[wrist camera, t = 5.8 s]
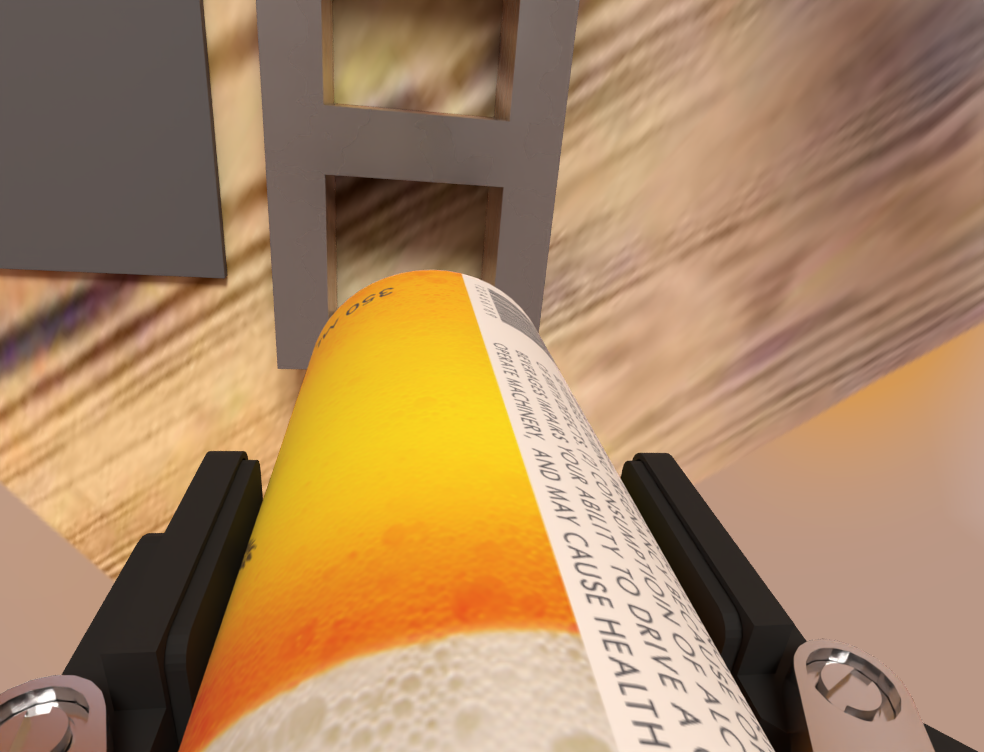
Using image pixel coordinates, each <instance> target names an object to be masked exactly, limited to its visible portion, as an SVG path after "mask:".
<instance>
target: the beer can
mask: <svg viewBox="0 0 984 752" xmlns="http://www.w3.org/2000/svg"><path fill="white" fill-rule="evenodd" d="M178 752H775V751H774V749H773V747H772V746H771V744H770V742H769V740H768V739H767V737H766V735H765V733H764V732H763V730H762V728H761V726H760V724H759V723H758V721H757V719H756V717H755V716H754V714H753V712H752V710H751V709H750V707H749V705H748V703H747V701H746V700H745V698H744V696H743V694H742V693H741V691H740V689H739V687H738V686H737V684H736V682H735V680H734V678H733V677H732V675H731V673H730V671H729V670H728V668H727V666H726V664H725V663H724V661H723V659H722V657H721V655H720V654H719V652H718V650H717V648H716V647H715V645H714V643H713V641H712V640H711V638H710V636H709V634H708V632H707V631H706V629H705V627H704V625H703V624H702V622H701V620H700V618H699V617H698V615H697V613H696V611H695V609H694V608H693V606H692V604H691V602H690V601H689V599H688V597H687V595H686V594H685V592H684V590H683V588H682V586H681V585H680V583H679V581H678V579H677V578H676V576H675V574H674V572H673V571H672V569H671V567H670V565H669V563H668V562H667V560H666V558H665V556H664V555H663V553H662V551H661V549H660V548H659V546H658V544H657V542H656V540H655V539H654V537H653V535H652V533H651V532H650V530H649V528H648V526H647V525H646V523H645V521H644V519H643V517H642V516H641V514H640V512H639V510H638V509H637V507H636V505H635V503H634V502H633V500H632V498H631V496H630V494H629V493H628V491H627V489H626V487H625V486H624V484H623V482H622V480H621V479H620V477H619V475H618V473H617V471H616V470H615V468H614V466H613V464H612V463H611V461H610V459H609V457H608V456H607V454H606V452H605V450H604V448H603V447H602V445H601V443H600V441H599V440H598V438H597V436H596V434H595V433H594V431H593V429H592V427H591V425H590V424H589V422H588V420H587V418H586V417H585V415H584V413H583V411H582V410H581V408H580V406H579V404H578V402H577V401H576V399H575V397H574V395H573V394H572V392H571V390H570V388H569V387H568V385H567V383H566V381H565V379H564V378H563V376H562V374H561V372H560V371H559V369H558V367H557V365H556V364H555V362H554V360H553V358H552V356H551V355H550V353H549V351H548V349H547V348H546V346H545V344H544V342H543V340H542V339H541V337H540V335H539V333H538V332H537V330H536V328H535V327H534V325H533V323H532V322H531V320H530V318H529V317H528V316H527V315H526V313H525V312H524V311H523V310H522V308H521V307H520V306H519V305H518V304H517V303H515V302H514V301H513V300H512V299H511V298H510V297H509V296H507V295H506V294H505V293H503V292H502V291H501V290H499V289H497V288H496V287H494V286H492V285H491V284H489V283H487V282H484V281H482V280H480V279H478V278H475V277H472V276H469V275H465V274H462V273H457V272H452V271H445V270H416V271H410V272H404V273H399V274H396V275H392V276H389V277H386V278H384V279H381V280H379V281H376V282H374V283H372V284H370V285H368V286H367V287H365V288H363V289H361V290H360V291H358V292H357V293H356V294H354V295H353V296H351V297H350V298H349V299H348V300H347V301H345V302H344V303H343V304H342V305H341V306H340V307H339V308H338V309H337V310H336V312H335V313H334V314H333V315H332V316H331V317H330V319H329V320H328V322H327V323H326V325H325V326H324V328H323V329H322V331H321V333H320V335H319V337H318V339H317V342H316V344H315V347H314V350H313V353H312V356H311V359H310V362H309V365H308V368H307V371H306V374H305V377H304V380H303V383H302V386H301V389H300V392H299V395H298V397H297V400H296V403H295V406H294V409H293V412H292V415H291V418H290V421H289V424H288V427H287V430H286V433H285V436H284V439H283V442H282V445H281V448H280V451H279V454H278V457H277V460H276V463H275V466H274V469H273V472H272V475H271V478H270V481H269V484H268V487H267V490H266V493H265V496H264V498H263V501H262V504H261V507H260V510H259V513H258V516H257V519H256V522H255V525H254V528H253V531H252V534H251V537H250V540H249V543H248V546H247V549H246V552H245V555H244V558H243V561H242V564H241V567H240V570H239V573H238V576H237V579H236V582H235V585H234V588H233V591H232V594H231V597H230V599H229V602H228V605H227V608H226V611H225V614H224V617H223V620H222V623H221V626H220V629H219V632H218V635H217V638H216V641H215V644H214V647H213V650H212V653H211V656H210V659H209V662H208V665H207V668H206V671H205V674H204V677H203V680H202V683H201V686H200V689H199V692H198V695H197V698H196V700H195V703H194V706H193V709H192V712H191V715H190V718H189V721H188V724H187V727H186V730H185V733H184V736H183V739H182V742H181V745H180V748H179V751H178Z"/></svg>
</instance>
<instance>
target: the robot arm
mask: <svg viewBox="0 0 984 752" xmlns="http://www.w3.org/2000/svg"><path fill="white" fill-rule="evenodd" d="M621 480H622V482H623V484H624V486H625V487H626V489H627V491H628V493H629V494H630V496H631V498H632V500H633V502H634V503H635V505H636V507H637V509H638V510H639V512H640V514H641V516H642V517H643V519H644V521H645V523H646V525H647V526H648V528H649V530H650V532H651V533H652V535H653V537H654V539H655V540H656V542H657V544H658V546H659V548H660V549H661V551H662V553H663V555H664V556H665V558H666V560H667V562H668V563H669V565H670V567H671V569H672V571H673V572H674V574H675V576H676V578H677V579H678V581H679V583H680V585H681V586H682V588H683V590H684V592H685V594H686V595H687V597H688V599H689V601H690V602H691V604H692V606H693V608H694V609H695V611H696V613H697V615H698V617H699V618H700V620H701V622H702V624H703V625H704V627H705V629H706V631H707V632H708V634H709V636H710V638H711V640H712V641H713V643H714V645H715V647H716V648H717V650H718V652H719V654H720V655H721V657H722V659H723V661H724V663H725V664H726V666H727V668H728V670H729V671H730V673H731V675H732V677H733V678H734V680H735V682H736V684H737V686H738V687H739V689H740V691H741V693H742V694H743V696H744V698H745V700H746V701H747V703H748V705H749V707H750V709H751V710H752V712H753V714H754V716H755V717H756V719H757V721H758V723H759V724H760V726H761V728H762V730H763V732H764V733H765V735H766V737H767V739H768V740H769V742H770V744H771V746H772V747H773V749H774V751H775V752H978V751H976V750H974V749H972V748H970V747H968V746H966V745H964V744H962V743H960V742H959V741H957V740H955V739H953V738H951V737H949V736H947V735H945V734H943V733H941V732H940V731H938V730H936V729H934V728H932V727H930V726H928V725H926V724H924V723H923V722H922V720H921V717H920V715H919V712H918V710H917V708H916V705H915V703H914V700H913V698H912V696H911V695H910V693H909V692H908V690H907V688H906V686H905V685H904V683H903V682H902V681H901V680H900V679H899V678H898V677H897V676H896V674H895V673H894V672H893V671H892V670H891V669H890V668H888V667H887V666H886V665H884V664H883V663H882V662H881V661H879V660H878V659H877V658H875V657H874V656H872V655H870V654H868V653H866V652H865V651H863V650H861V649H859V648H857V647H855V646H852V645H849V644H846V643H843V642H840V641H835V640H827V639H817V640H809V641H806V640H805V639H804V637H803V636H802V634H801V633H800V632H799V630H798V629H797V628H796V626H795V624H794V623H793V621H792V620H791V619H790V617H789V616H788V615H787V613H786V612H785V611H784V609H783V608H782V606H781V605H780V604H779V602H778V601H777V599H776V598H775V597H774V595H773V594H772V593H771V591H770V590H769V589H768V587H767V586H766V584H765V583H764V582H763V580H762V579H761V578H760V576H759V575H758V574H757V572H756V571H755V569H754V568H753V567H752V565H751V564H750V563H749V561H748V560H747V558H746V557H745V556H744V555H743V553H742V552H741V550H740V549H739V547H738V546H737V545H736V543H735V542H734V541H733V539H732V538H731V536H730V535H729V534H728V532H727V531H726V530H725V528H724V527H723V526H722V524H721V523H720V521H719V520H718V519H717V517H716V516H715V515H714V513H713V512H712V510H711V509H710V508H709V506H708V505H707V504H706V502H705V501H704V500H703V498H702V497H701V495H700V494H699V493H698V492H697V490H696V489H695V487H694V486H693V484H692V483H691V482H690V480H689V479H688V478H687V476H686V475H685V473H684V472H683V471H682V469H681V468H680V467H679V465H678V464H677V462H676V461H675V460H674V458H673V457H672V456H671V455H670V454H668V453H637V454H636V455H635V456H634V458H633V461H626V462H625V464H624V466H623V470H622V474H621ZM262 501H263V495H262V483H261V470H260V464H259V461H258V460H248V456H247V453H246V452H245V451H209V452H207V454H206V455H205V457H204V459H203V461H202V463H201V465H200V467H199V468H198V470H197V472H196V474H195V476H194V478H193V480H192V482H191V484H190V485H189V487H188V489H187V491H186V493H185V495H184V497H183V499H182V501H181V502H180V504H179V506H178V508H177V510H176V512H175V514H174V516H173V518H172V520H171V521H170V523H169V525H168V527H167V529H166V531H165V533H148V534H146V535H144V536H142V538H141V539H140V540H139V542H138V543H137V545H136V546H135V548H134V550H133V552H132V553H131V555H130V557H129V559H128V560H127V562H126V564H125V566H124V567H123V569H122V571H121V572H120V574H119V576H118V578H117V579H116V581H115V583H114V585H113V586H112V588H111V590H110V592H109V593H108V595H107V597H106V599H105V601H104V602H103V604H102V606H101V607H100V609H99V611H98V612H97V614H96V616H95V618H94V619H93V621H92V623H91V625H90V626H89V628H88V630H87V632H86V633H85V635H84V637H83V638H82V640H81V642H80V644H79V645H78V647H77V649H76V651H75V652H74V654H73V656H72V658H71V659H70V661H69V663H68V665H67V666H66V668H65V670H64V672H63V674H62V675H53V676H48V677H44V678H39V679H34V680H31V681H28V682H26V683H23V684H21V685H18V686H16V687H13V688H11V689H8V690H6V691H5V692H3V693H1V694H0V752H178V751H179V748H180V745H181V742H182V739H183V736H184V733H185V730H186V727H187V724H188V721H189V718H190V715H191V712H192V709H193V706H194V703H195V700H196V698H197V695H198V692H199V689H200V686H201V683H202V680H203V677H204V674H205V671H206V668H207V665H208V662H209V659H210V656H211V653H212V650H213V647H214V644H215V641H216V638H217V635H218V632H219V629H220V626H221V623H222V620H223V617H224V614H225V611H226V608H227V605H228V602H229V599H230V597H231V594H232V591H233V588H234V585H235V582H236V579H237V576H238V573H239V570H240V567H241V564H242V561H243V558H244V555H245V552H246V549H247V546H248V543H249V540H250V537H251V534H252V531H253V528H254V525H255V522H256V519H257V516H258V513H259V510H260V507H261V504H262Z"/></svg>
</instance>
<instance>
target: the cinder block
mask: <svg viewBox="0 0 984 752" xmlns="http://www.w3.org/2000/svg"><path fill="white" fill-rule="evenodd" d="M578 8H579V0H503V13H502V25H501V38H500V50H499V63H498V75H497V88H496V100H495V113H494V118H492V117H481V116H470V115H459V114H448V113H437V112H425V111H414V110H403V109H392V108H381V107H369V106H358V105H347V104H336V103H334V69H333V7H332V0H256V9H257V26H258V43H259V60H260V76H261V93H262V110H263V127H264V144H265V161H266V178H267V195H268V212H269V229H270V246H271V263H272V279H273V296H274V313H275V330H276V347H277V364H278V369H307V368H308V365H309V362H310V359H311V356H312V353H313V350H314V347H315V344H316V342H317V339H318V337H319V335H320V333H321V331H322V329H323V328H324V326H325V325H326V323H327V322H328V320H329V319H330V317H331V316H332V315H333V314H334V313H335V312H336V310H337V255H336V193H335V175H340V176H354V177H368V178H382V179H396V180H410V181H424V182H438V183H452V184H466V185H480V186H489V187H488V200H487V212H486V225H485V237H484V250H483V262H482V275H481V280H482V281H484V282H487V283H489V284H491V285H492V286H494V287H496V288H497V289H499V290H501V291H502V292H503V293H505V294H506V295H507V296H509V297H510V298H511V299H512V300H513V301H514V302H515V303H517V304H518V305H519V306H520V307H521V308H522V310H523V311H524V312H525V313H526V315H527V316H528V317H529V318H530V320H531V322H532V323H533V325H534V327H535V328H536V330H537V332H538V333H539V325H540V317H541V309H542V300H543V292H544V284H545V276H546V268H547V260H548V252H549V244H550V235H551V227H552V219H553V211H554V203H555V195H556V187H557V178H558V170H559V162H560V154H561V146H562V138H563V130H564V121H565V113H566V105H567V97H568V89H569V81H570V73H571V65H572V56H573V48H574V40H575V32H576V24H577V16H578Z"/></svg>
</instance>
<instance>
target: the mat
mask: <svg viewBox="0 0 984 752" xmlns="http://www.w3.org/2000/svg"><path fill="white" fill-rule="evenodd" d="M0 268H3V269H25V270H48V271H71V272H93V273H116V274H139V275H162V276H184V277H207V278H225V277H226V276H227V267H226V256H225V245H224V234H223V222H222V211H221V200H220V189H219V177H218V166H217V155H216V144H215V133H214V121H213V110H212V99H211V88H210V77H209V65H208V54H207V43H206V32H205V20H204V9H203V0H0Z"/></svg>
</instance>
